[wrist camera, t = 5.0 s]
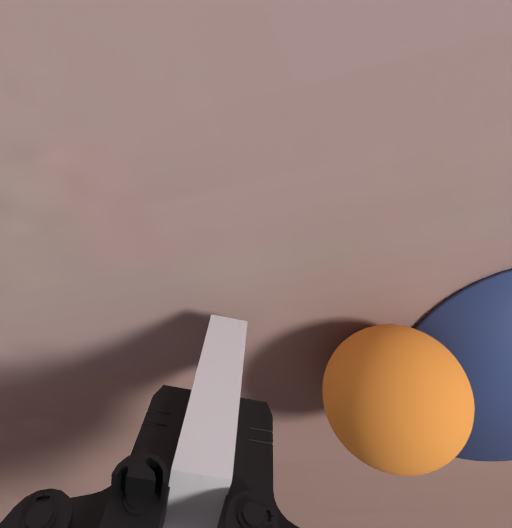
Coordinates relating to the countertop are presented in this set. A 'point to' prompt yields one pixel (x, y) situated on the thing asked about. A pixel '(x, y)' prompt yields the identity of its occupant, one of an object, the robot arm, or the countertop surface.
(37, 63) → the countertop surface
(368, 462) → the ball
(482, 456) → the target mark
